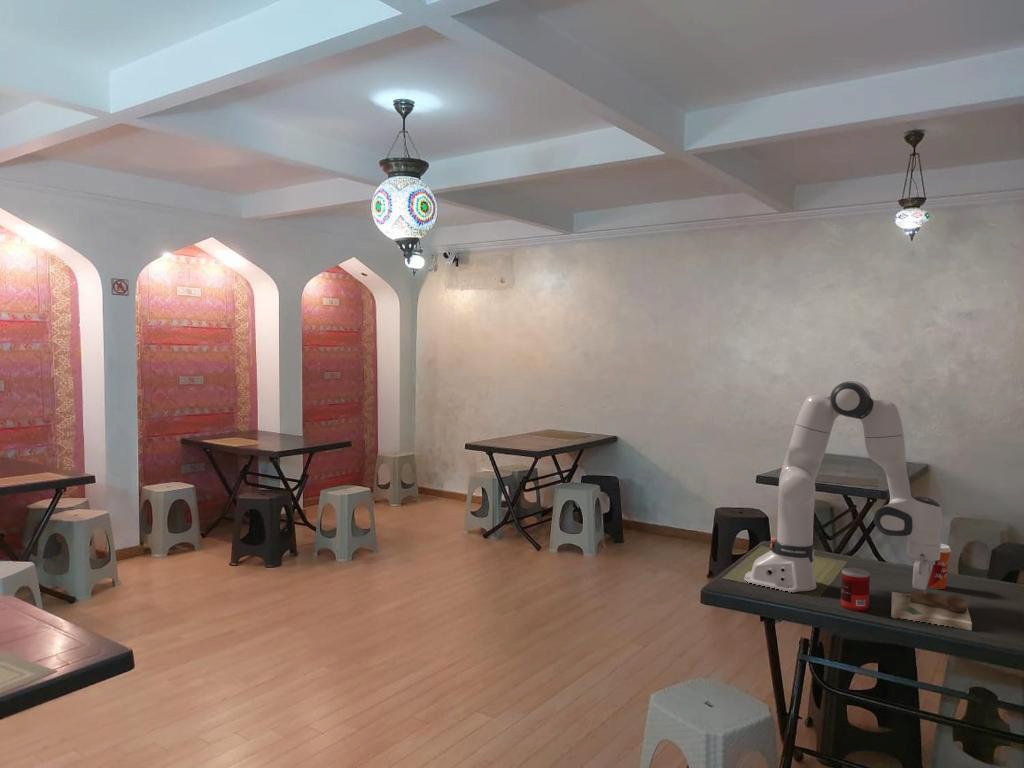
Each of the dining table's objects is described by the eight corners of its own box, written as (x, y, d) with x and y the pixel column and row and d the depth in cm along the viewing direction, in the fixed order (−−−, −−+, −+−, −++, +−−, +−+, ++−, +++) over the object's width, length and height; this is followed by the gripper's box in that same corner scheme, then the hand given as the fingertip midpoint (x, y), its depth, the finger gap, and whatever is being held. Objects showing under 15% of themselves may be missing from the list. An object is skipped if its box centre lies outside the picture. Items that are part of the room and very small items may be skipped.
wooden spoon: (968, 608, 216) (968, 597, 216) (965, 613, 212) (966, 601, 212) (913, 597, 225) (913, 586, 225) (909, 601, 221) (909, 590, 221)
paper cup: (942, 592, 238) (944, 549, 237) (918, 585, 244) (920, 544, 243) (953, 587, 243) (955, 546, 242) (929, 581, 249) (931, 540, 248)
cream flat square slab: (891, 617, 215) (891, 610, 215) (891, 598, 232) (891, 591, 232) (971, 630, 206) (972, 623, 206) (965, 609, 223) (966, 602, 223)
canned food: (872, 607, 224) (873, 571, 223) (862, 613, 218) (863, 577, 218) (846, 600, 229) (848, 565, 229) (836, 606, 224) (837, 571, 223)
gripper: (932, 561, 212) (930, 608, 213) (937, 545, 229) (935, 589, 230) (908, 557, 216) (905, 603, 217) (914, 542, 233) (912, 585, 234)
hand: (921, 596), depth 224 cm, fingers closed
